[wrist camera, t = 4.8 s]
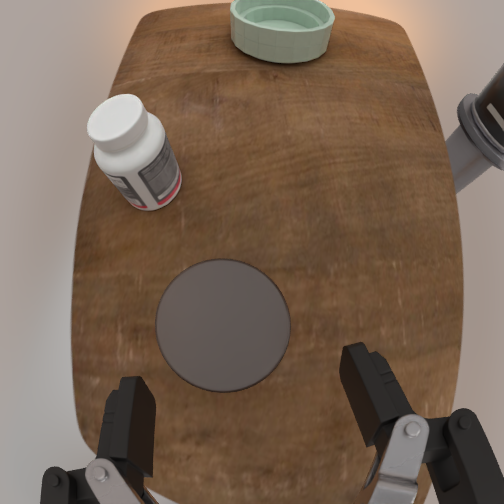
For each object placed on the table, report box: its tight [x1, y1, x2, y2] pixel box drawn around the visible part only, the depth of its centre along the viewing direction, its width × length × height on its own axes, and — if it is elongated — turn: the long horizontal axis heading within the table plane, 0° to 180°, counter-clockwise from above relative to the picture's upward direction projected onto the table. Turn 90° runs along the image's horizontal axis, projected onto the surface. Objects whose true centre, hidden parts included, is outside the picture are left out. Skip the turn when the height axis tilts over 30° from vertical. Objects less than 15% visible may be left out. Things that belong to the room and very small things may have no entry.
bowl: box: [230, 0, 335, 63], centre depth 28 cm, size 12×12×6 cm
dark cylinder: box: [155, 259, 291, 393], centre depth 14 cm, size 3×3×16 cm
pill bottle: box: [87, 94, 182, 211], centre depth 20 cm, size 5×5×10 cm
